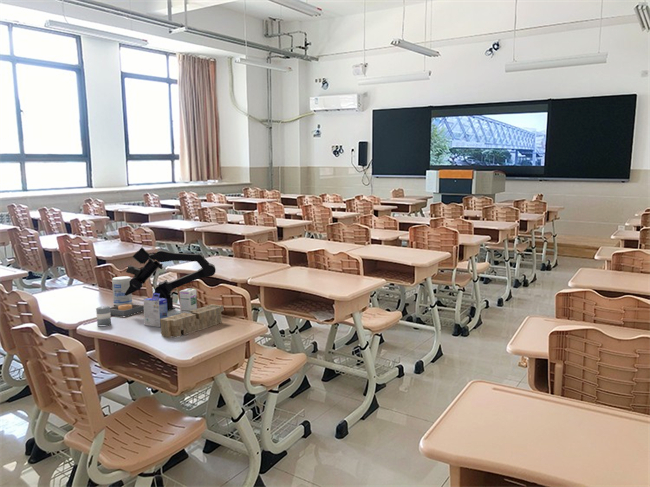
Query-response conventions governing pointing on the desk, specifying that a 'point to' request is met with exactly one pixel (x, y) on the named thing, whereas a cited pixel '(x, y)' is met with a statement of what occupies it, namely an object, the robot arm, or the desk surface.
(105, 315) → the cylinder
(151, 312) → the ink cartridge box
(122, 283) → the supplement tub
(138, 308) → the lid tray
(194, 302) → the syrup box
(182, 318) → the block tower
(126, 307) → the snap cap
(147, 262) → the robot arm
